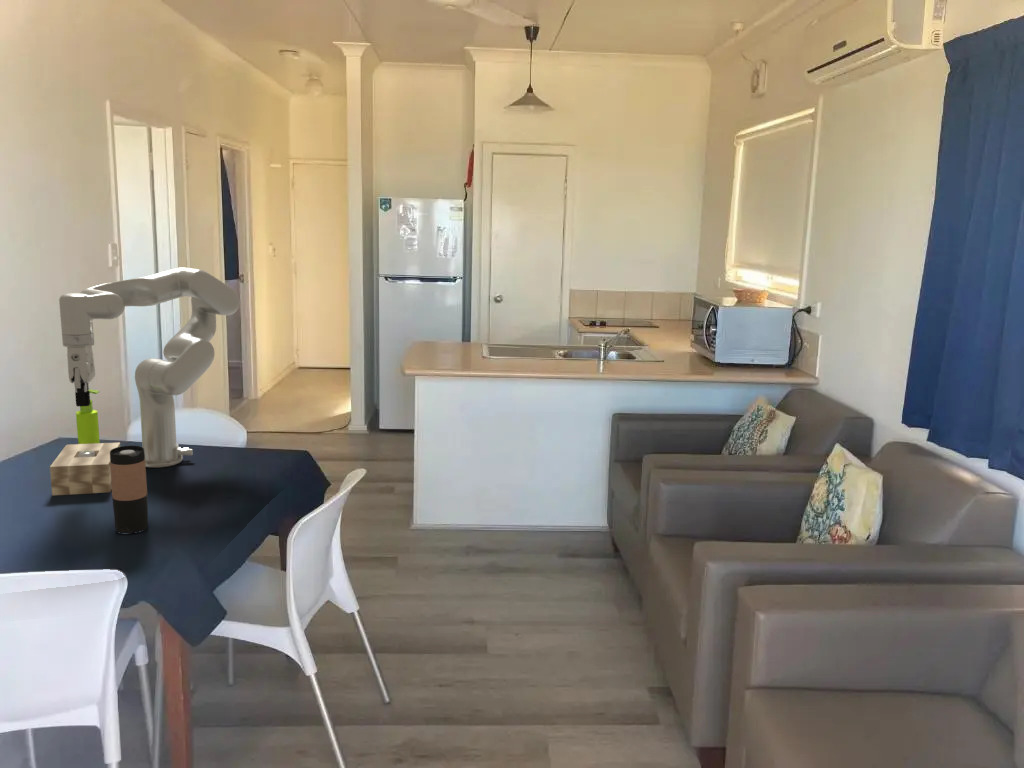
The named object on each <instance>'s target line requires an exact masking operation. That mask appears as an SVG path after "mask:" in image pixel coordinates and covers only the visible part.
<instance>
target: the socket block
mask: <svg viewBox="0 0 1024 768" xmlns="http://www.w3.org/2000/svg"><path fill="white" fill-rule="evenodd" d="M117 447H121V442H100V443H94V444H78V443H74V444H71V443H70V444H66V445H65V446H64V447H63V449H62V450H61V451H60V453H59V454H58V456H57V457H56V458H55V459H54V461H53V462H52V464H51V465H50V466H49V473H50V474H49V475H50V484H51V485H50V486H51V495H52V496H64V495H65V496H67V495H70V496H71V495H84V494H85V495H86V494H99V493H103V494H104V493H112V484H111V466H110V451H111V450H112V449H114V448H117ZM82 451H94V452H95V457H79V456H78V453H79V452H82Z"/></svg>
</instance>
